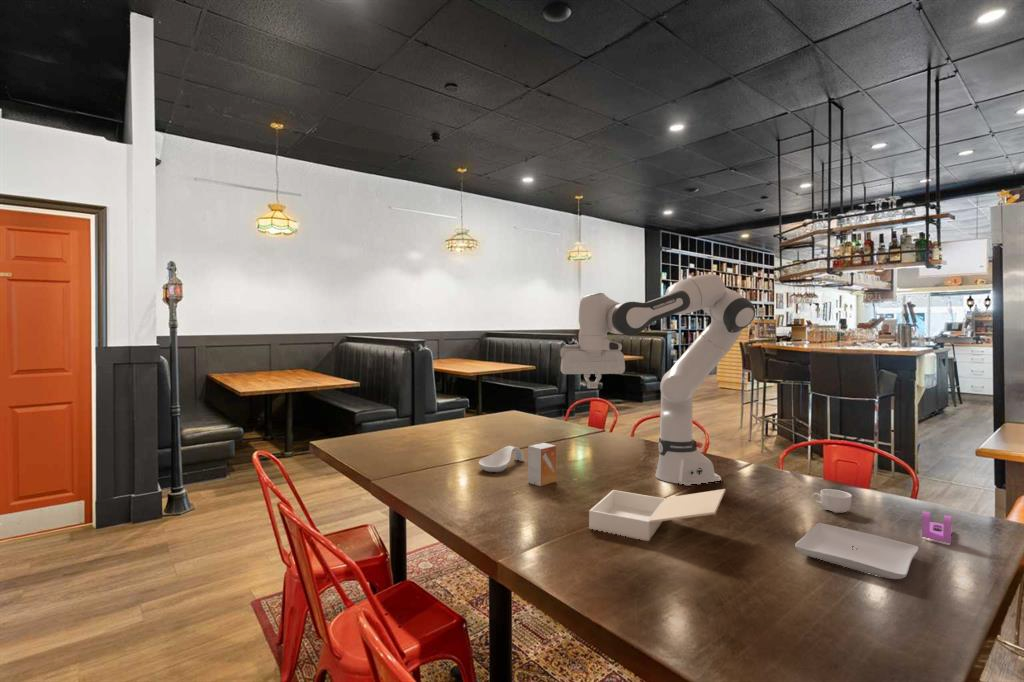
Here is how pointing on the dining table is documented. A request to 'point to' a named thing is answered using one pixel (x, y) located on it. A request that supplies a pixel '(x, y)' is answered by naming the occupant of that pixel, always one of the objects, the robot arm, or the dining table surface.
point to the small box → (541, 464)
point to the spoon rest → (500, 459)
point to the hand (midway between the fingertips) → (592, 388)
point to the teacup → (834, 500)
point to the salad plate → (858, 550)
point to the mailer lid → (689, 506)
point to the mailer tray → (626, 515)
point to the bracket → (928, 526)
